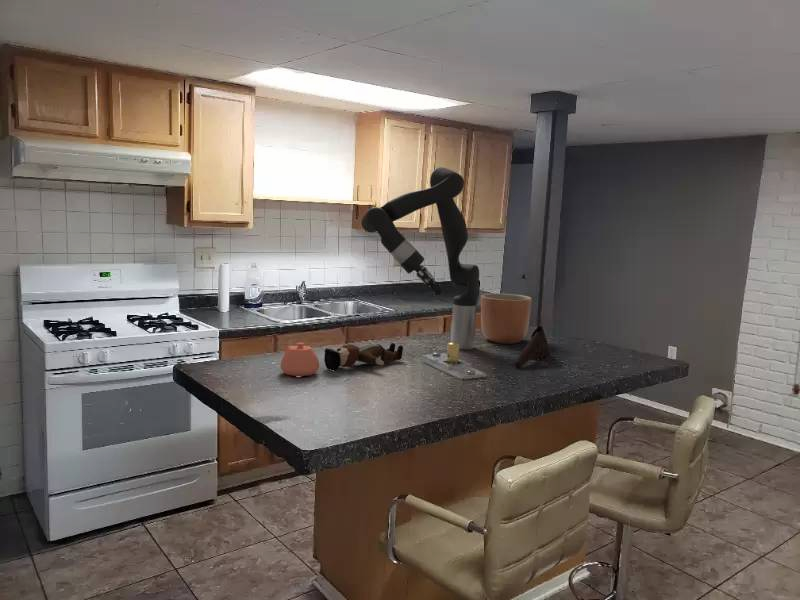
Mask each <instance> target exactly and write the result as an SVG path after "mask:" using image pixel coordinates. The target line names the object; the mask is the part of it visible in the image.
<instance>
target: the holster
mask: <svg viewBox="0 0 800 600" xmlns="http://www.w3.org/2000/svg"><path fill="white" fill-rule="evenodd" d="M530 337H531V338H530V340H529V342H528V343H527V344H526V346H525V347H524V348H523V349H522V351H521V353H520V354H519V356H518V358H517V360H516V361H515V363H514V366H515V368H516V369H517V368H519V369H518V370H520V369H521V368H522V367H523V366H524V365H525V364H526V363H527V362H529V361H536V360H538V359H539V360H540V361H542V359H548V358H547V357H549V358H551V356H552V352H551V349H550V348H551V347H550V345H549V343H548V340H547V337H546V333H545V331H544V327H543V326H542V325H539V326H538V327H536V329H534V331H533V332H532V334H531V336H530Z"/></svg>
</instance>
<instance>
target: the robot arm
mask: <svg viewBox="0 0 800 600" xmlns="http://www.w3.org/2000/svg"><path fill="white" fill-rule="evenodd" d="M429 185H430V187H428V188H425V189H420V190H419V189H418V190H416V191H415V190H414V191H409V192H405V193H402V194H400V195H399V196H396V197H394V198H392V199H390V200H389V201H387V202H385V203H384V205H382V206H381V207H378V206H373V207H371V208H369V209H368V210H367V212H366V213H365V214H364V215H363V217H362V218H361V226H362V229H363V230H364V231H365V232H367V233H372V234H373V233H374V234H375V233H377V234H378V235H379V236H380V242H381V245H382V246H383V247H384V249H386V250H387V251H388V253H390V254H391V256H392V257H393V259H394V260H395V261H396V262H397V263H398V264H399V266H400V267H402V269H403V271H405V272H406V273H407V274H412V272H414V271H415V272H416V277H417V278H418V279H420V281H421V282H422V283H423V284H425V285H426V287H428V288H430V289H431V290H432V291H433V292H434V293H435V295H437V296H439V295H440V294H441V293H443V290H442V286H441V285H439V283H438V282H437V281H436V280H435V278H434V276H433V274H432V273H431V272H430V271H429V269H428V268H427V267H426V266H424V265H421V264H422V263H423V262H424V261H425V257H424V256H423V255H422V253H420V252H419V251H418V250H417V249H416V247H414V245H413V244H412V243H411V242H409V241H408V240H407V239H406V238H405V236H404V235H403V234H402V233H401V232H400V231H399V230H398V229H397V227H396V225H395V223H394V222H395V221H399V220H401V219H402V218H404V217H406V216H408V215H410V214H412V213H414V212H416V211H418V210H420V209H424V208H427V207H429V206H432V205H434V204H435V205H436V208H437V213H438V216H439V217H438V218H439V221H440V226H441V227H440V228H441V233H442V238H443V241H444V242H443V243H444V245H445V250H446V255H447V260H448V262H447V263H448V271H449V278H450V283H451V284H452V286H454V287H457V288H466V291H465V292H464V293H463V294H459V295H455V296H454V297H453V300H452V317H451V322H450V336H449V337H450V341H449V342H456V343H459V350H473V349H475V339H476V320H477V318H476V317H477V300H478V296H479V295H478V292H479V282H480V269H479V266H478V265H477V264H473V263H471V264H470V263H469V264H468V263H461V262H460V255H461V253H462V251H463V250H464V248H465V246H466V244H467V242H468V239H469V234H468V228H467V223H466V220H465V218H464V215H463V213H462V212H461V211H460V208H459V207H458V205H457V203H456V201H455V199H454V198H456V197H458V196H459V195H460V194H461V193H462V192H463V190H464V186H465V181H464V178H463V176H462V175H461V174H460V173H459V172H456V171H454V170H451V169H449V168H446V167H442V166H441V167H436V168H435V169H434V170H433V171H432V172H431V174H430V178H429Z"/></svg>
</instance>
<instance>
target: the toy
mask: <svg viewBox="0 0 800 600" xmlns="http://www.w3.org/2000/svg"><path fill="white" fill-rule="evenodd" d="M403 351H404V346H403V345H401V344H400V345H398V347H397V349H396V343H394V342H392V343H390V345H389V347H388V348H387V349H386V348H385V347H383V345H381V344H378V343H377V344H376V343H375V344H368V345H364V346H361V347H359V346H357V345H355V344H351V343H349V344H346V343H344V344H343V345H342V346H340V347H338V348H337V349H332V348H325V349H324V357H323V358H324V365H325V368H326V369H327V370H328V369H331V370H334V371H335V372H337V371H338V370H339V369H340V367H341V368H349V367H352V366H354V365H355V364H356V362H360V363H366V364H370V365H375V366H378V365H379V366H384V365H385V363H386V362H388V361H392V362H395V361H400V360H401V359H402V358H403V353H404V352H403Z"/></svg>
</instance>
